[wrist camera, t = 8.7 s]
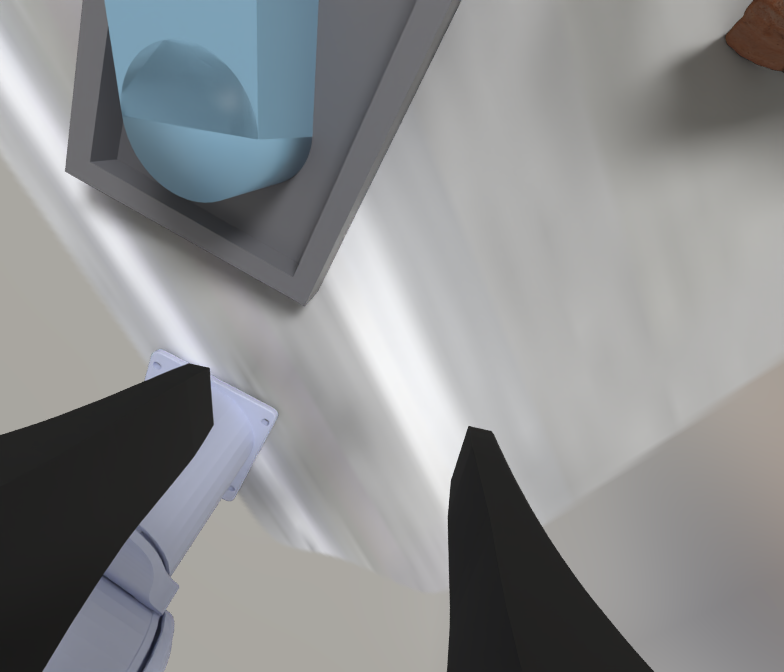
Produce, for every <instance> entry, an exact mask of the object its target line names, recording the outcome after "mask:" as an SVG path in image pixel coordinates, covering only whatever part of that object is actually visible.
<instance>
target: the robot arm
mask: <svg viewBox="0 0 784 672" xmlns="http://www.w3.org/2000/svg"><path fill="white" fill-rule="evenodd" d="M158 363H159V364H160V365H159V364H158ZM277 418H278V412H277V411H276V409H274V408H273V407H271V406H269V405H267V404H265V403H263V402H261V401H259V400H258V399H256V398H254V397H252V396H250V395H248V394H246V393H244V392H242V391H241V390H239V389H237V388H235V387H233V386H231V385H229V384H227V383H225V382H224V381H222V380H220V379H218V378H216V377H214V376H212V375H210V368H208V367H203V366H199V365H194V364H190V363H188V362H186V361H184V360H182V359H180V358H178V357H176V356H174V355H172V354H171V353H169V352H167V351H165V350H162V349H158V350H156V351H155V352H153V353H152V355H151V358H150V362H149V366H148V370H147V373H146V377H145V381H144V382H142V383H139V384H137V385H134V386H132V387H130V388H127V389H125V390H123V391H120V392H118V393H116V394H113V395H111V396H108V397H106V398H104V399H101V400H98V401H96V402H93V403H91V404H88V405H85V406H83V407H80V408H78V409H75V410H72V411H70V412H67V413H65V414H62V415H60V416H57V417H54V418H51V419H48V420H46V421H43V422H40V423H37V424H34V425H31V426H28V427H25V428H22V429H18V430H15V431H12V432H9V433H6V434H2V435H0V672H164V670H165V668H166V665H167V663H168V659H169V656H170V652H171V647H172V638H173V633H174V619H173V616H172V614H170V613H169V612H168V611H167V610H166V608H167V607H168V605H169V603H170V602H171V600H172V598H173V597H174V595H175V594H176V592H177V590H178V589H179V585H178V584H177V583H176V582H175V581H173V579H172V578H171V575H172V574H173V572H174V571H175V569H176V568H177V566H178V565H179V563H180V562H181V560H182V559H183V557H184V555H185V554H186V552H187V550H188V549H189V548H190V546H191V545H192V543H193V542H194V540H195V538H196V537H197V535H198V534H199V532H200V531H201V529H202V528H203V526H204V525H205V523H206V522H207V520H208V519H209V517H210V515H211V514H212V512H213V511H214V509H215V508H216V506H217V505H218V503H219V501H220V500H221V498H222V499H224V500H226V501H232V500H233V499H234V498H235V497H236V495H237V493H238V491H239V489H240V487H241V485H242V484H243V482H244V480H245V478H246V476H247V474H248V472H249V470H250V468H251V467H252V465H253V463H254V461H255V459H256V457H257V455H258V453H259V452H260V450H261V448H262V446H263V444H264V442H265V440H266V438H267V437H268V435H269V433H270V431H271V429H272V427H273V425H274V423H275V422H276V420H277ZM265 419H267V420H268V421H269V422H268V421H266V420H265ZM448 550H449V588H450V632H449V650H448V666H447V672H654V671H653V670H652V669H651V668H650V667H649V666H648V665H647V663H646V662H645V661H644V660H643V659H642V658H641V657H640V656H639V654H638V653H637V652H636V651H635V650H634V649H633V648H632V646H631V645H630V644H629V643H628V642H627V641H626V639H625V638H624V637H623V636H622V635H621V634H620V632H619V631H618V630H617V629H616V627H615V626H614V625H613V624H612V623H611V621H610V620H609V619H608V618H607V616H606V615H605V614H604V613H603V611H602V610H601V609H600V608H599V607H598V605H597V604H596V603H595V602H594V600H593V599H592V598H591V597H590V595H589V594H588V593H587V592H586V590H585V589H584V588H583V586H582V585H581V583H580V582H579V581H578V579H577V578H576V577H575V575H574V574H573V573H572V571H571V570H570V568H569V567H568V565H567V564H566V563H565V561H564V560H563V558H562V557H561V555H560V554H559V552H558V551H557V549H556V548H555V546H554V545H553V543H552V542H551V540H550V539H549V537H548V536H547V534H546V532H545V530H544V529H543V527H542V526H541V524H540V522H539V521H538V519H537V517H536V516H535V514H534V512H533V511H532V509H531V507H530V505H529V504H528V502H527V500H526V498H525V496H524V494H523V493H522V491H521V489H520V487H519V485H518V483H517V482H516V480H515V478H514V476H513V474H512V472H511V470H510V468H509V466H508V464H507V462H506V460H505V458H504V455H503V453H502V451H501V449H500V447H499V445H498V443H497V440H496V438H495V436H494V434H493V433H492V431H488V430H484V429H479V428H475V427H471V426H468V429H467V432H466V436H465V439H464V442H463V445H462V448H461V451H460V454H459V457H458V460H457V463H456V467H455V470H454V473H453V476H452V479H451V486H450V497H449V509H448Z"/></svg>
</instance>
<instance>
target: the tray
mask: <svg viewBox="0 0 784 672" xmlns="http://www.w3.org/2000/svg"><path fill="white" fill-rule="evenodd" d="M460 2H461V0H319V4H318V26H317V48H316V69H315V91H314V112H313V134H312V145H311V149H310V153H309V156H308V158H307V160H306V162H305V164H304V165H303V167H302V168H301V170H300V171H299V172H298V173H297V174H296V175H294V176H293V177H292V178H290V179H288V180H287V181H284V182H281V183H278V184H275V185H271V186H268V187H265V188H261V189H258V190H255V191H251V192H248V193H244V194H241V195H238V196H234V197H231V198H228V199H224V200H221V201H216V202H207V203H203V202H195V201H191V200H187V199H185V198H182V197H180V196H178V195H176V194H174V193H172V192H171V191H169V190H168V189H166V188H165V187H163V186H162V185H161V184H160V183H159V182H157V181H156V180H155V179H154V178H153V177H152V176H151V175H150V174H149V172H148V171H147V170H146V169H145V167H144V166H143V165H142V163H141V162H140V160H139V159H138V157H137V156H136V154H135V152H134V150H133V148H132V146H131V144H130V141H129V139H128V136H127V133H126V130H125V127H124V122H123V117H122V111H121V105H120V98H119V92H118V85H117V79H116V72H115V66H114V59H113V53H112V46H111V40H110V33H109V27H108V20H107V14H106V7H105V1H104V0H83V4H82V14H81V23H80V33H79V43H78V52H77V62H76V71H75V81H74V91H73V100H72V110H71V119H70V129H69V139H68V148H67V158H66V168H65V172H67V173H69V174H71V175H72V176H74V177H76V178H78V179H79V180H81V181H83V182H85V183H87V184H88V185H90V186H92V187H94V188H95V189H97V190H99V191H101V192H103V193H104V194H106V195H108V196H110V197H111V198H113V199H115V200H117V201H119V202H120V203H122V204H124V205H126V206H127V207H129V208H131V209H133V210H135V211H136V212H138V213H140V214H142V215H143V216H145V217H147V218H149V219H151V220H152V221H154V222H156V223H158V224H159V225H161V226H163V227H165V228H167V229H168V230H170V231H172V232H174V233H175V234H177V235H179V236H181V237H183V238H184V239H186V240H188V241H190V242H191V243H193V244H195V245H197V246H199V247H200V248H202V249H204V250H206V251H207V252H209V253H211V254H213V255H215V256H216V257H218V258H220V259H222V260H223V261H225V262H227V263H229V264H230V265H232V266H234V267H236V268H238V269H239V270H241V271H243V272H245V273H246V274H248V275H250V276H252V277H254V278H255V279H257V280H259V281H261V282H262V283H264V284H266V285H268V286H270V287H271V288H273V289H275V290H277V291H278V292H280V293H282V294H284V295H286V296H287V297H289V298H291V299H293V300H294V301H296V302H298V303H300V304H302V305H303V306H305V305H306V304H307V303H308V302H309V301H310V299H311V298H312V297H313V296H314V295H315V294H316V293H317V292H318V290H319V288H320V286H321V284H322V282H323V280H324V278H325V276H326V274H327V272H328V270H329V268H330V266H331V264H332V262H333V260H334V258H335V256H336V254H337V252H338V250H339V247H340V245H341V243H342V241H343V239H344V237H345V235H346V233H347V231H348V229H349V227H350V225H351V223H352V221H353V219H354V217H355V215H356V213H357V211H358V209H359V207H360V205H361V203H362V201H363V199H364V197H365V195H366V193H367V191H368V189H369V187H370V185H371V183H372V181H373V179H374V176H375V174H376V172H377V170H378V168H379V166H380V164H381V162H382V160H383V158H384V156H385V154H386V152H387V150H388V148H389V146H390V144H391V142H392V140H393V138H394V136H395V134H396V132H397V130H398V128H399V126H400V124H401V122H402V120H403V118H404V116H405V114H406V112H407V110H408V107H409V105H410V103H411V101H412V99H413V97H414V95H415V93H416V91H417V89H418V87H419V85H420V83H421V81H422V79H423V77H424V75H425V73H426V71H427V69H428V67H429V65H430V63H431V61H432V59H433V57H434V55H435V53H436V51H437V49H438V47H439V45H440V43H441V41H442V39H443V36H444V34H445V32H446V30H447V28H448V26H449V24H450V22H451V20H452V18H453V16H454V14H455V12H456V10H457V8H458V6H459V4H460Z"/></svg>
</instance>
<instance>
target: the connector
mask: <svg viewBox="0 0 784 672" xmlns="http://www.w3.org/2000/svg"><path fill="white" fill-rule="evenodd" d="M104 1H105V7H106V14H107V20H108V27H109V33H110V40H111V46H112V53H113V59H114V66H115V72H116V79H117V85H118V92H119V98H120V105H121V111H122V117H123V122H124V127H125V130H126V133H127V136H128V139H129V141H130V144H131V146H132V148H133V150H134V152H135V154H136V156H137V157H138V159H139V160H140V162H141V163H142V165H143V166H144V167H145V169H146V170H147V171H148V172H149V174H150V175H151V176H152V177H153V178H154V179H155V180H156V181H157V182H159V183H160V184H161V185H162V186H163V187H165V188H166V189H168V190H169V191H171V192H172V193H174V194H176V195H178V196H180V197H182V198H185V199H187V200H191V201H195V202H203V203H207V202H216V201H221V200H224V199H228V198H231V197H234V196H238V195H241V194H244V193H248V192H251V191H255V190H258V189H261V188H265V187H268V186H271V185H275V184H278V183H281V182H284V181H287V180H288V179H290V178H292V177H293V176H294V175H296V174H297V173H298V172H299V171H300V170H301V168H302V167H303V165H304V164H305V162H306V160H307V158H308V156H309V153H310V149H311V145H312V134H313V112H314V91H315V69H316V48H317V26H318V4H319V0H104Z"/></svg>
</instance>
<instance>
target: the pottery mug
mask: <svg viewBox="0 0 784 672" xmlns="http://www.w3.org/2000/svg"><path fill="white" fill-rule="evenodd" d="M725 38H726V42H727V44H728V45H729V46H730V47H731V48H733V49H734V50H735V51H736V52H737V53H738V54H739V55H740V56H742V57H744V58H746V59H748V60H750V61H752V62H753V63H755V64H757V65H760V66H763V67H767V68H770V69H772V70H777V71H782V72H783V73H784V0H753V1H752V3H751V4H750V5H749V6H748V7H747V9H746V11H745V13H744V16H743V17H742V18H741V19H740V20H739V21H738V22H737V23H736V24H735V25H734V26H733V27H732V29H731V30H730V31H729V32H728V33H727V35H726V37H725Z"/></svg>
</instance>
